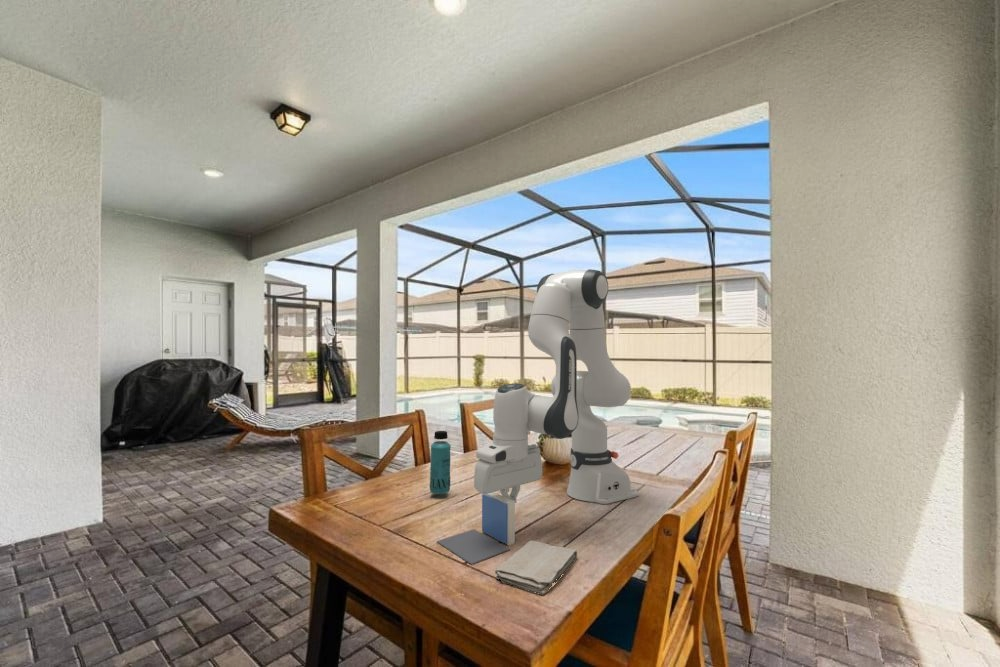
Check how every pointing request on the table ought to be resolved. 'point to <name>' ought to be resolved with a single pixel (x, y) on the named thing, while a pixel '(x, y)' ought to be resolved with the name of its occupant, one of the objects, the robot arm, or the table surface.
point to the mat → (473, 546)
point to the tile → (498, 517)
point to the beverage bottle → (440, 465)
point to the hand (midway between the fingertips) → (509, 503)
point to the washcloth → (536, 566)
